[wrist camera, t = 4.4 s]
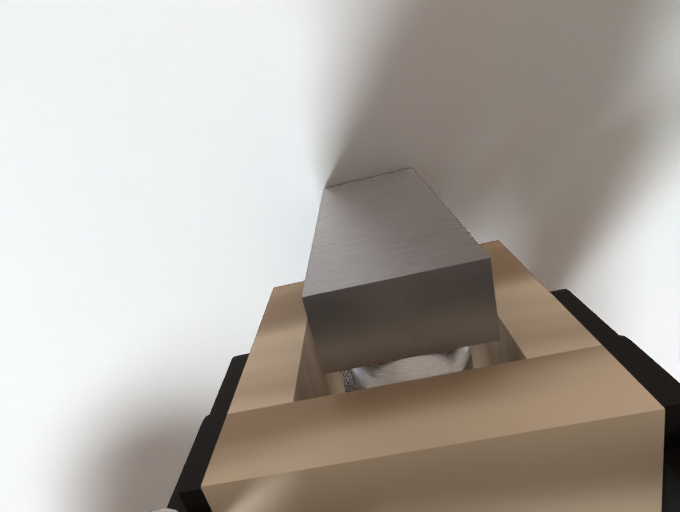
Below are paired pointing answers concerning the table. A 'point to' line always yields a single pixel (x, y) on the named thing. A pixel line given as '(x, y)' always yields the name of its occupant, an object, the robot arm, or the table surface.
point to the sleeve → (442, 422)
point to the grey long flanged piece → (396, 283)
